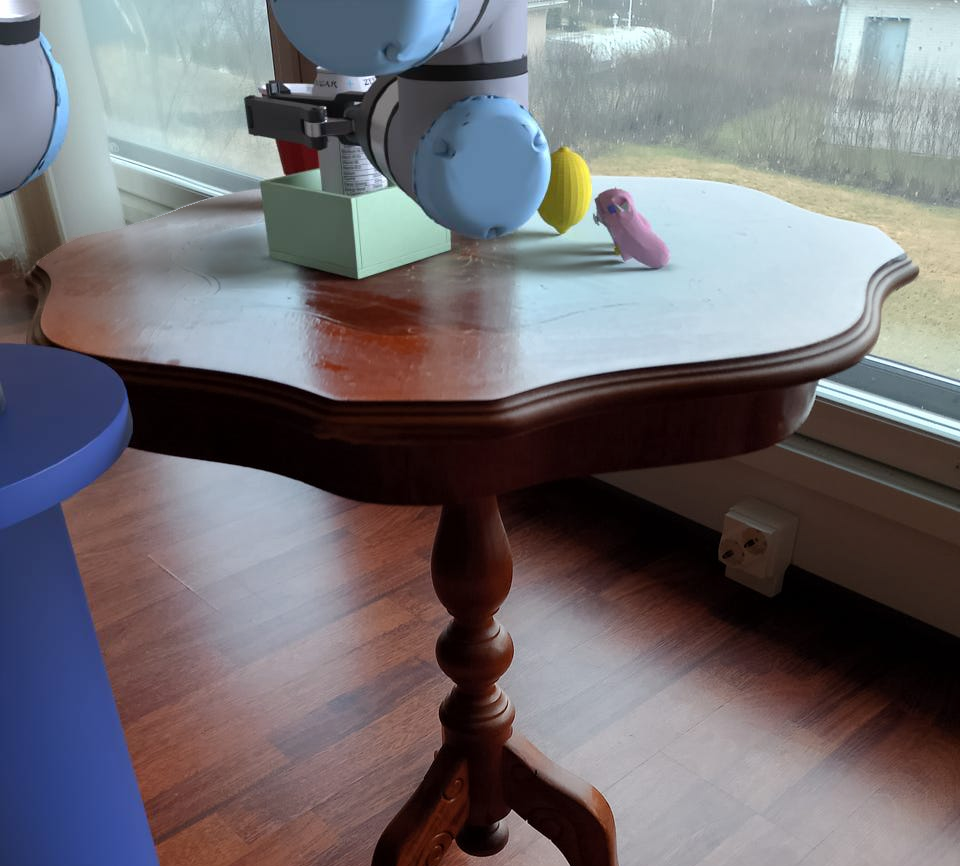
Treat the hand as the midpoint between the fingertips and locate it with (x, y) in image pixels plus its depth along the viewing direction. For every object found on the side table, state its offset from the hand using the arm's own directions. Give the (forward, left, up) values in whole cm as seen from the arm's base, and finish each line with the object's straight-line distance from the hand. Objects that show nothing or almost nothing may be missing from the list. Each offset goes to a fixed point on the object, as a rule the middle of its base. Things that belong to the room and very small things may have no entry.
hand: (357, 93), depth 88 cm
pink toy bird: (+18, -16, -15) cm, 28 cm away
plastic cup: (+16, +24, -15) cm, 33 cm away
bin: (+4, +5, -14) cm, 16 cm away
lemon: (+21, -6, -15) cm, 26 cm away
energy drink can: (+4, +5, -14) cm, 15 cm away
